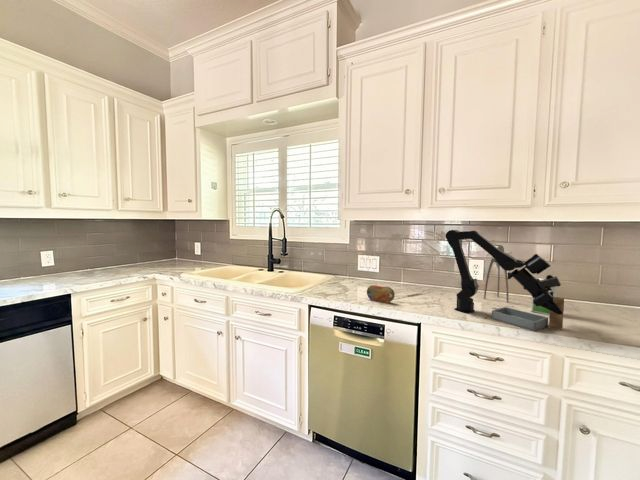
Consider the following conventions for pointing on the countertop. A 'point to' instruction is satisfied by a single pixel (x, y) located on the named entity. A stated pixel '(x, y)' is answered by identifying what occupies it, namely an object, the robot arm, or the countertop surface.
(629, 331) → the countertop surface
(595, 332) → the countertop surface
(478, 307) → the countertop surface
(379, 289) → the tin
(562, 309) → the brown block
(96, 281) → the countertop surface
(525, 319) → the tray
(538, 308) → the skincare box
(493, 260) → the juicer
